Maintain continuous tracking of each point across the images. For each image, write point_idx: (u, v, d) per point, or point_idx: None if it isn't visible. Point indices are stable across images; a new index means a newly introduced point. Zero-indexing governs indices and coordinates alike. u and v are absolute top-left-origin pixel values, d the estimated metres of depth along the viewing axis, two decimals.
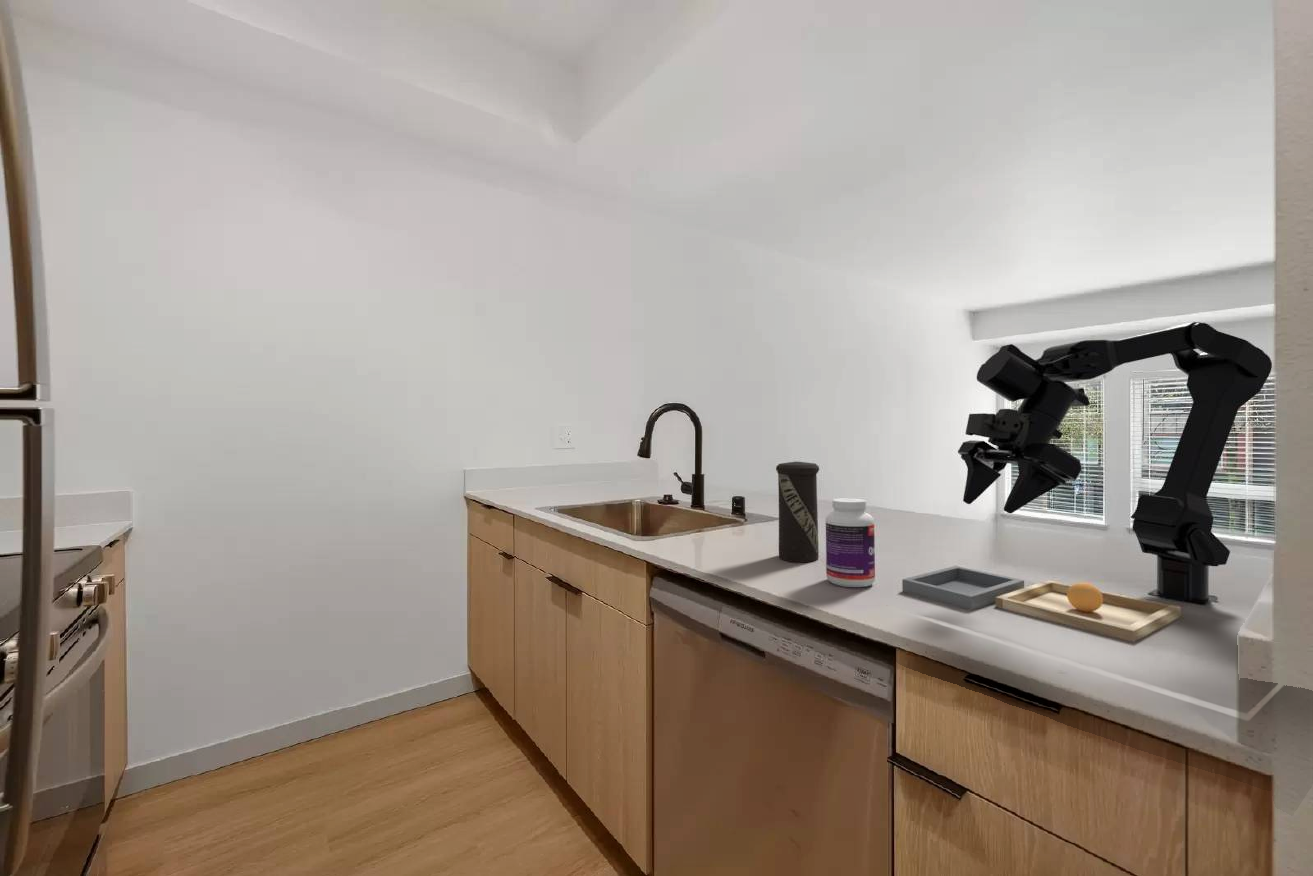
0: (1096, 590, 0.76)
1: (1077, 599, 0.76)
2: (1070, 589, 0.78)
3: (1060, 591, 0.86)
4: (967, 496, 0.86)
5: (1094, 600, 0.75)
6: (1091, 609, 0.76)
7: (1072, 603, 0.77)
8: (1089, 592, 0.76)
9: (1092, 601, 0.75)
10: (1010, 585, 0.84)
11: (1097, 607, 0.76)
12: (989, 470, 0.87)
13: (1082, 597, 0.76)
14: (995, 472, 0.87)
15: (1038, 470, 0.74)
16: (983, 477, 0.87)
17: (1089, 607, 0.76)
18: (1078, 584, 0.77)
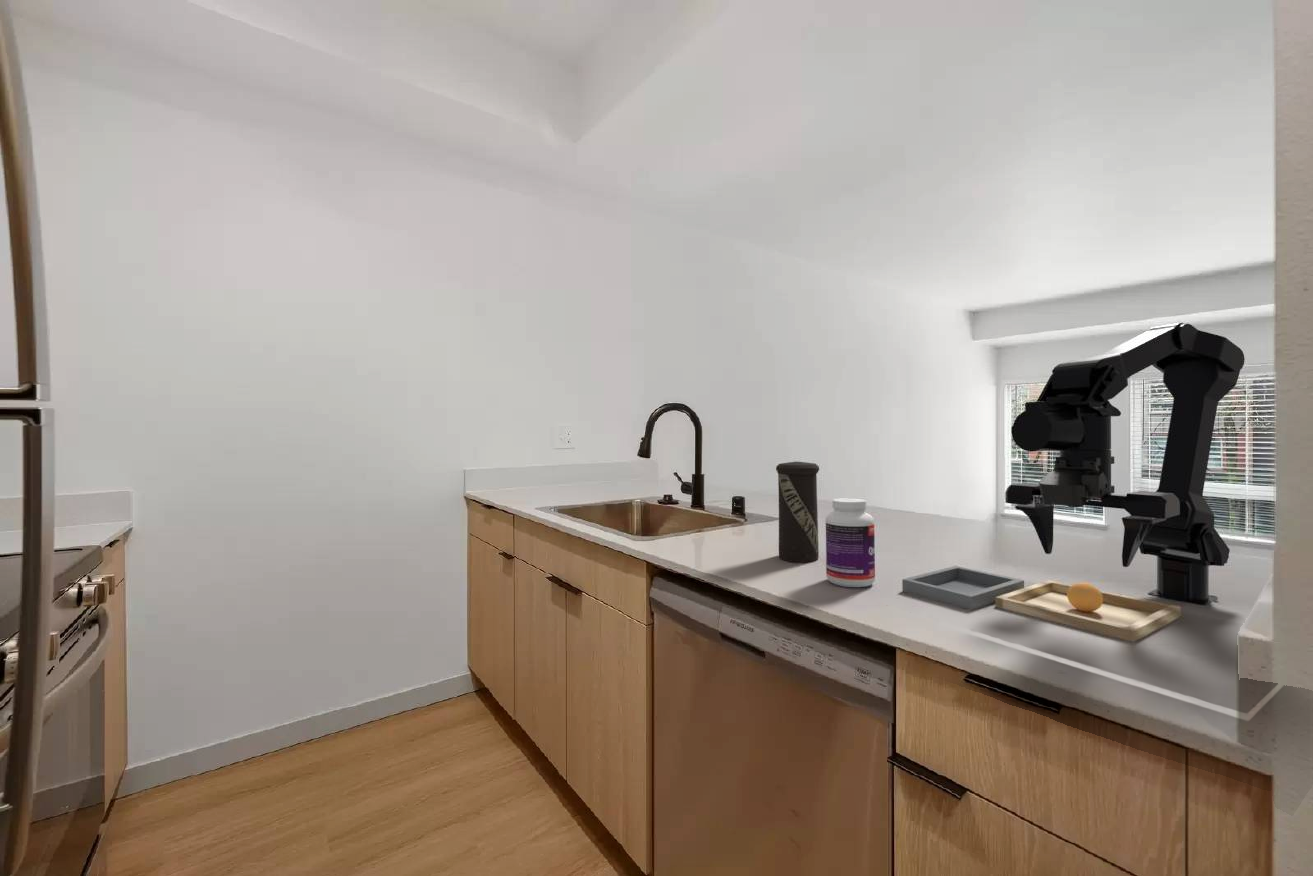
0: (1096, 590, 0.76)
1: (1077, 599, 0.76)
2: (1070, 589, 0.78)
3: (1060, 591, 0.86)
4: (1048, 548, 0.81)
5: (1094, 600, 0.75)
6: (1091, 609, 0.76)
7: (1072, 603, 0.77)
8: (1089, 592, 0.76)
9: (1092, 601, 0.75)
10: (1010, 585, 0.84)
11: (1097, 607, 0.76)
12: (1047, 509, 0.82)
13: (1082, 597, 0.76)
14: (1050, 507, 0.83)
15: None
16: (1047, 519, 0.82)
17: (1089, 607, 0.76)
18: (1078, 584, 0.77)
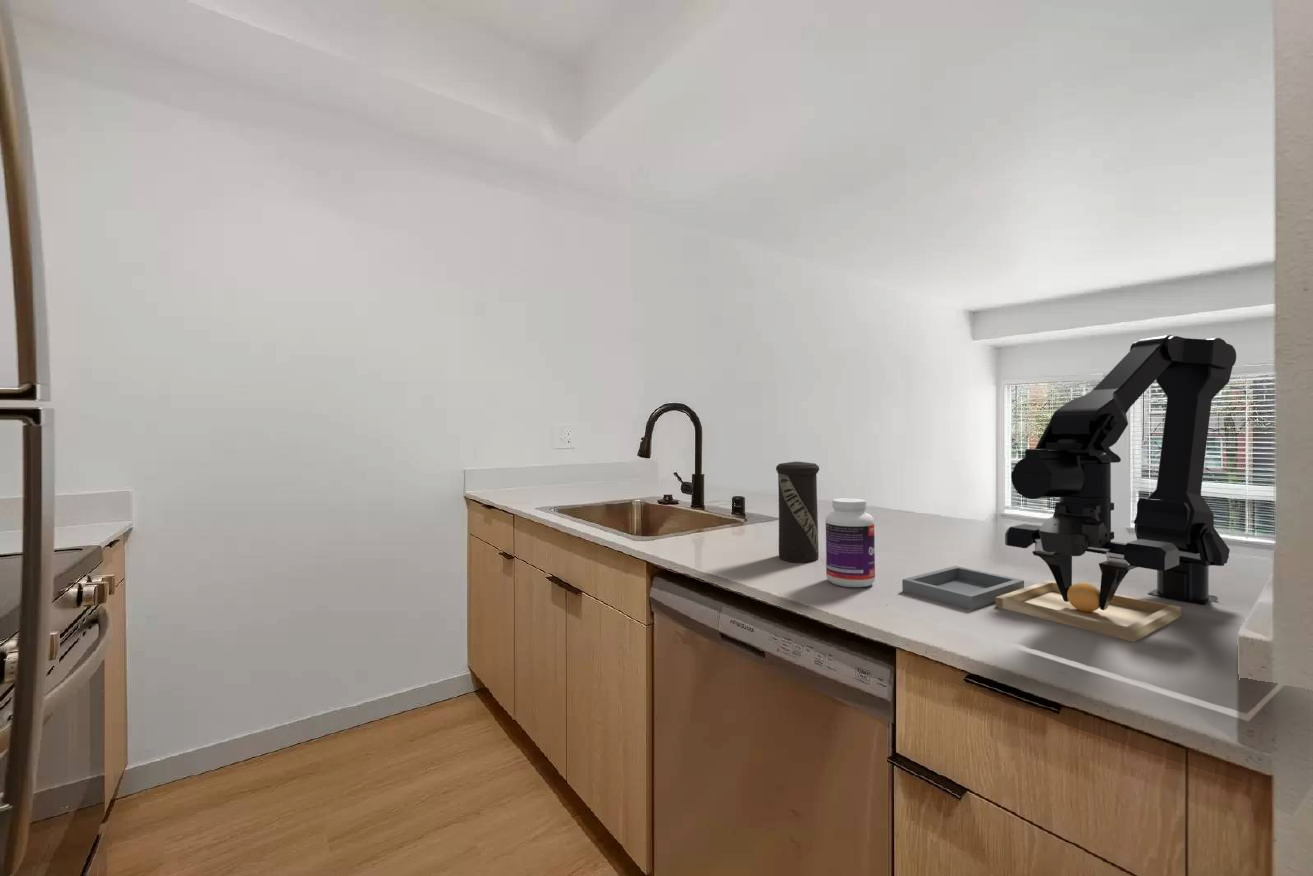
0: (1096, 590, 0.76)
1: (1077, 599, 0.76)
2: (1070, 589, 0.78)
3: None
4: None
5: (1094, 600, 0.75)
6: (1091, 609, 0.76)
7: (1072, 603, 0.77)
8: (1089, 592, 0.76)
9: (1092, 601, 0.75)
10: (1010, 585, 0.84)
11: (1097, 607, 0.76)
12: (1066, 555, 0.80)
13: (1082, 597, 0.76)
14: None
15: None
16: (1066, 566, 0.80)
17: (1089, 607, 0.76)
18: (1078, 584, 0.77)
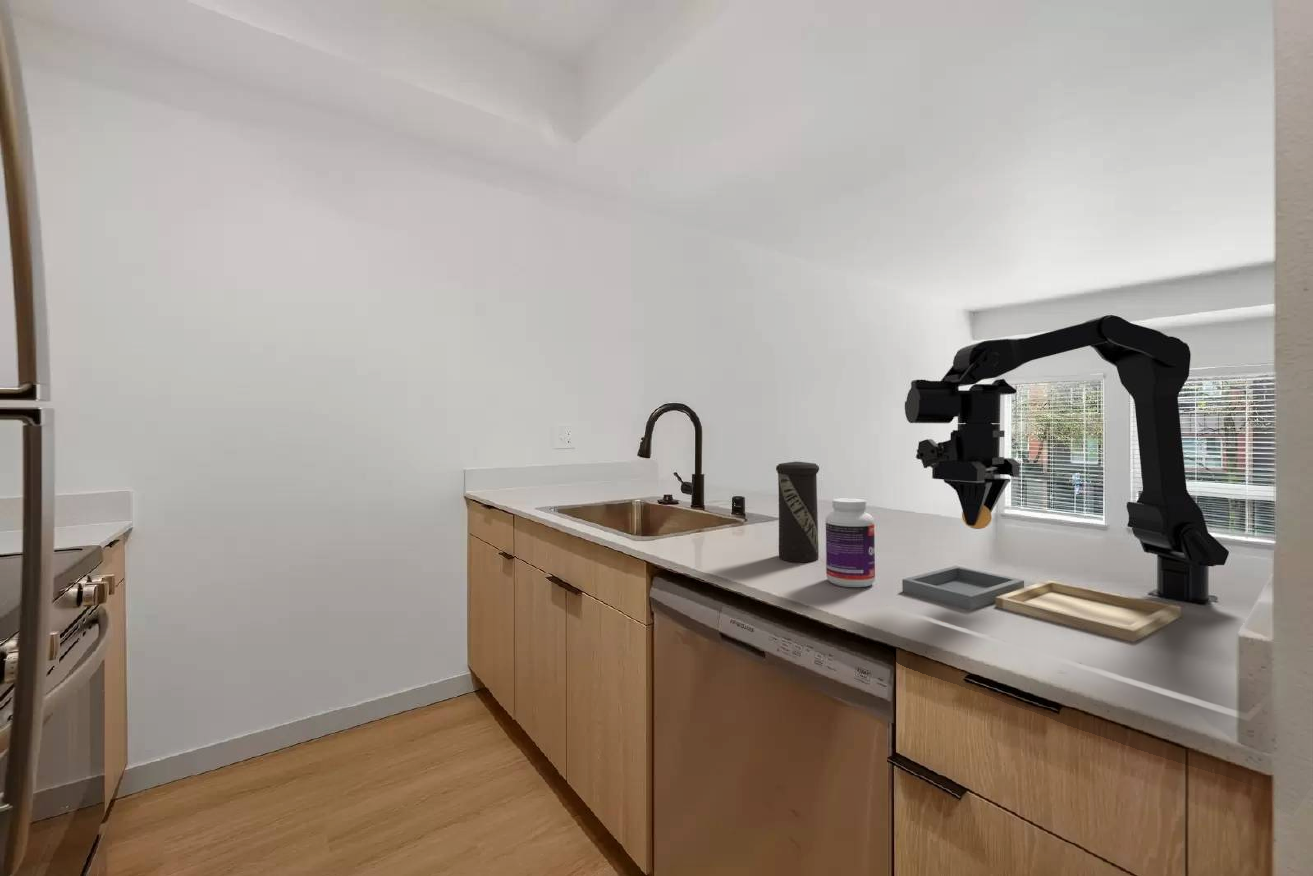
0: None
1: None
2: None
3: (1060, 591, 0.86)
4: None
5: None
6: (966, 524, 0.85)
7: None
8: None
9: (963, 515, 0.86)
10: (1010, 585, 0.84)
11: None
12: (990, 482, 0.86)
13: (962, 512, 0.86)
14: (997, 481, 0.85)
15: (957, 483, 0.83)
16: None
17: (964, 521, 0.86)
18: None
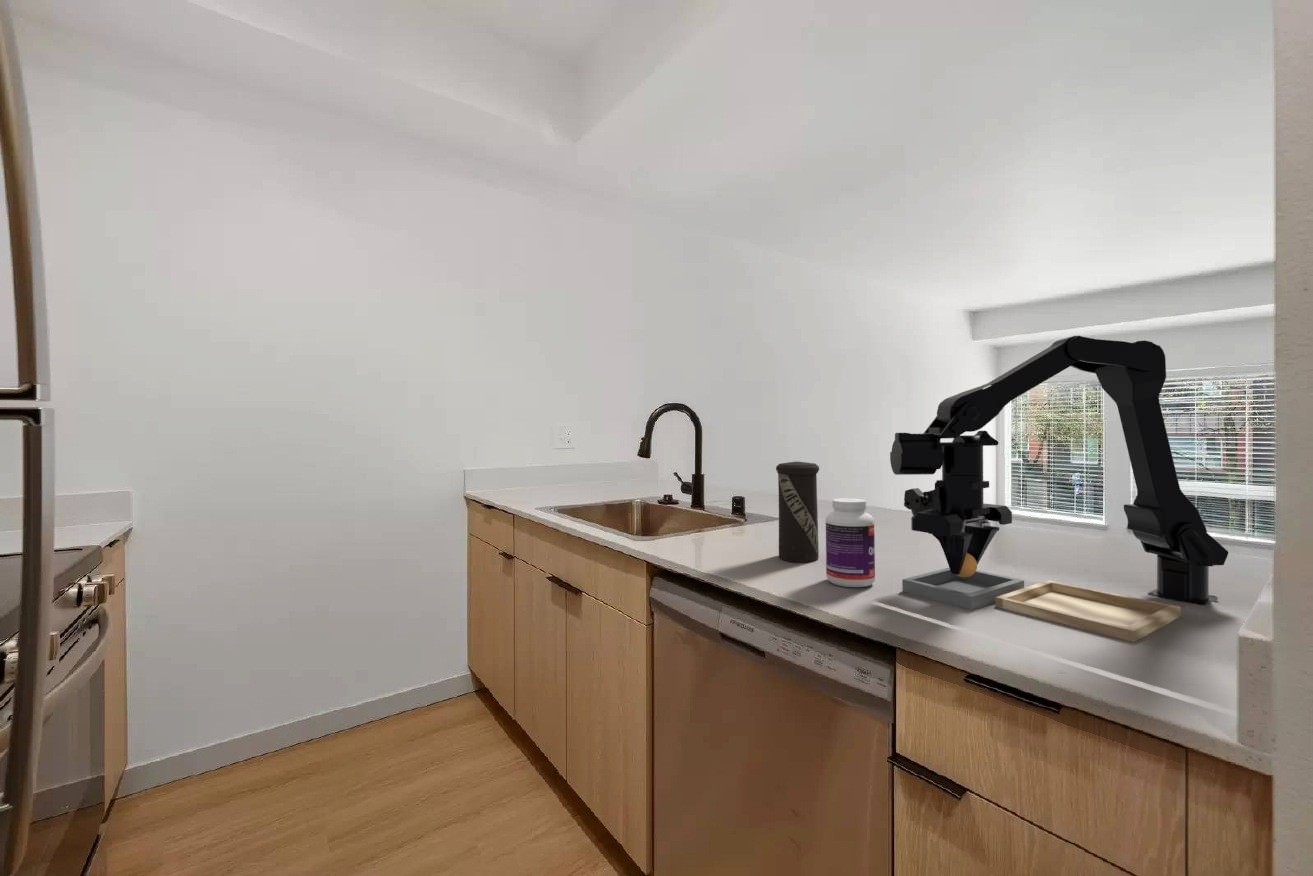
0: None
1: None
2: None
3: (1060, 591, 0.86)
4: None
5: None
6: None
7: None
8: None
9: None
10: (1010, 585, 0.84)
11: None
12: (977, 530, 0.88)
13: None
14: (984, 530, 0.87)
15: None
16: (974, 539, 0.88)
17: None
18: None
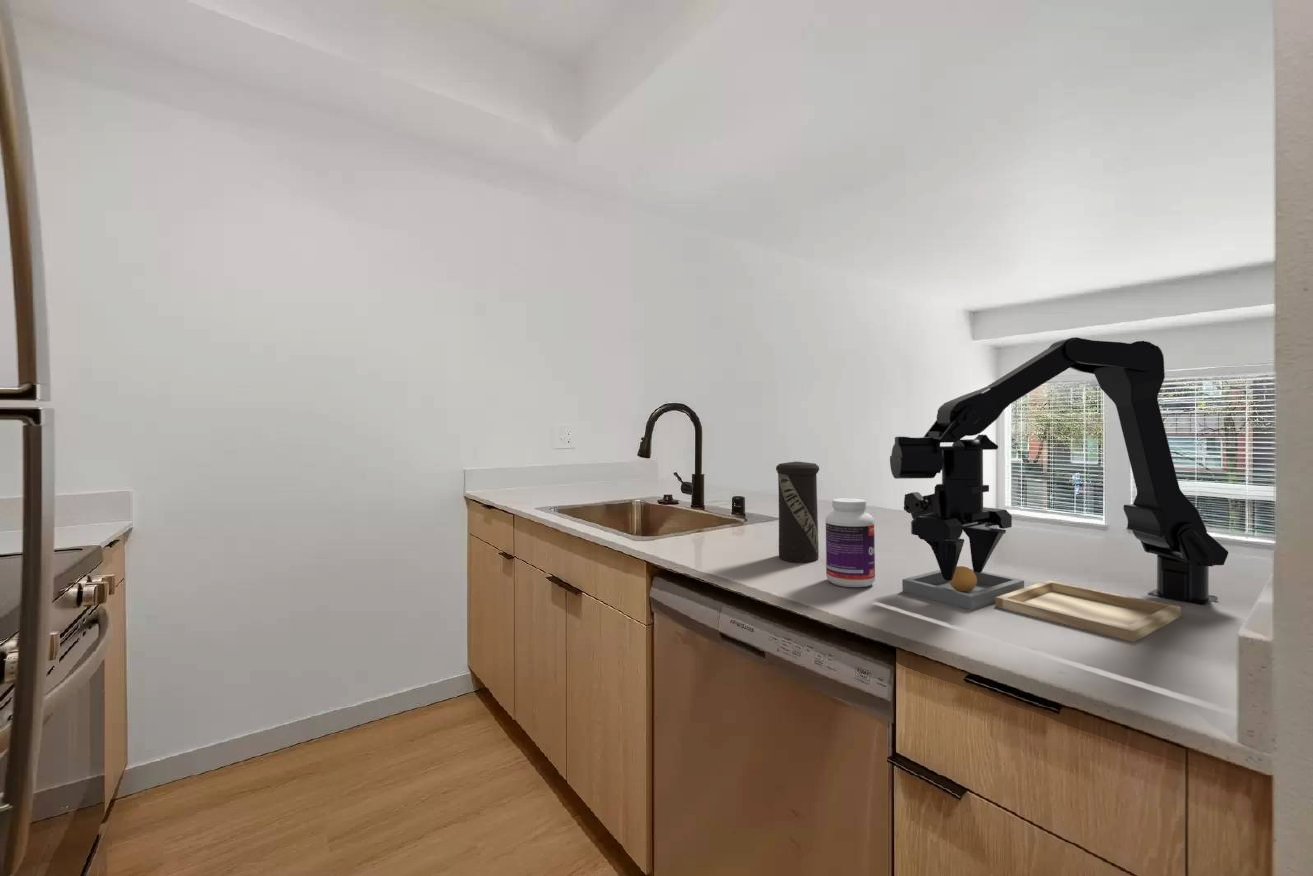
0: (955, 571, 0.87)
1: None
2: None
3: (1060, 591, 0.86)
4: (973, 566, 0.90)
5: None
6: (952, 586, 0.87)
7: None
8: None
9: None
10: (1010, 585, 0.84)
11: (953, 586, 0.87)
12: (984, 533, 0.89)
13: None
14: (991, 532, 0.88)
15: None
16: (981, 542, 0.89)
17: (950, 584, 0.88)
18: None
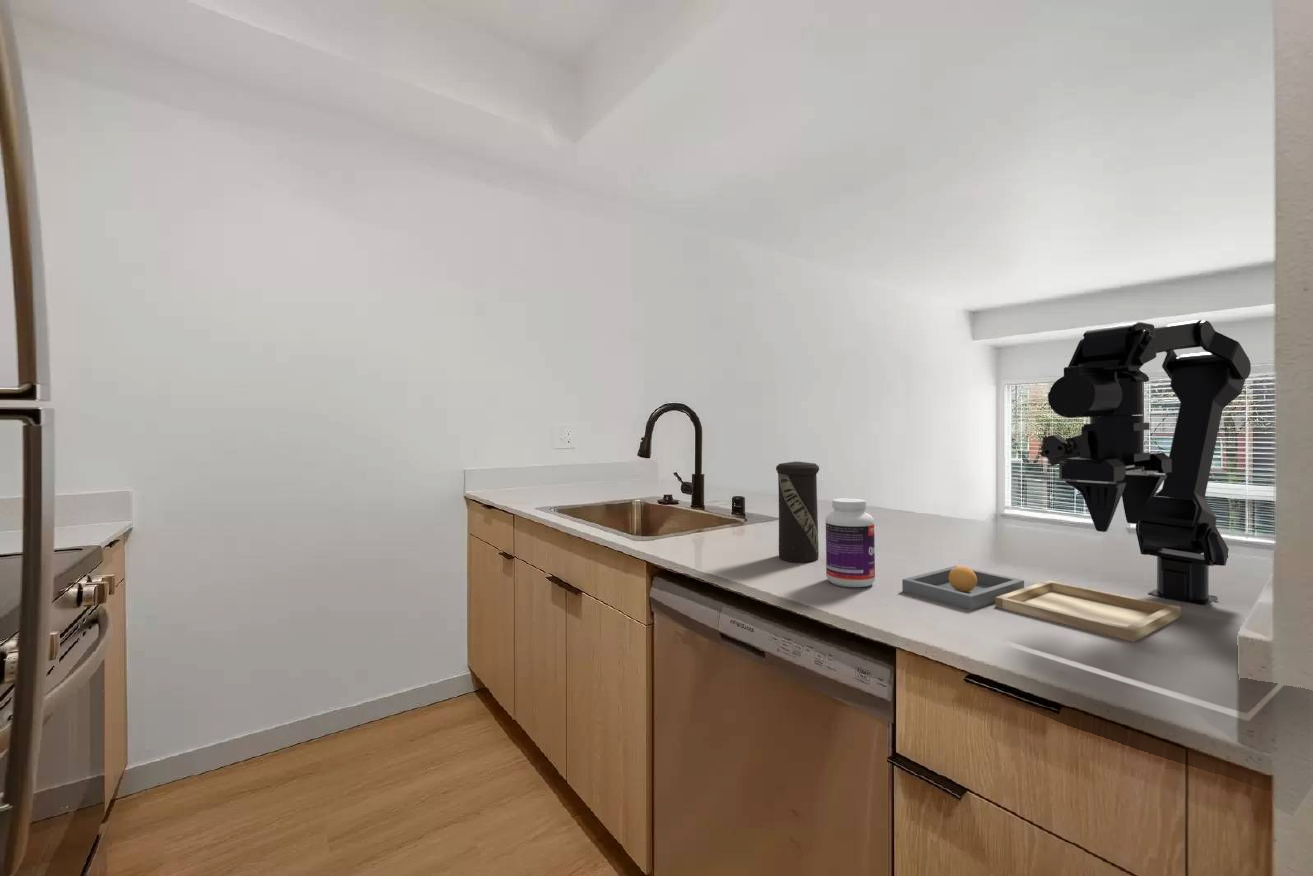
0: (956, 571, 0.87)
1: None
2: None
3: (1060, 591, 0.86)
4: (1127, 516, 0.79)
5: (949, 577, 0.87)
6: (952, 586, 0.87)
7: None
8: (950, 571, 0.88)
9: None
10: (1010, 585, 0.84)
11: (953, 585, 0.87)
12: (1141, 479, 0.78)
13: None
14: (1150, 477, 0.77)
15: None
16: (1137, 489, 0.78)
17: (950, 583, 0.88)
18: None
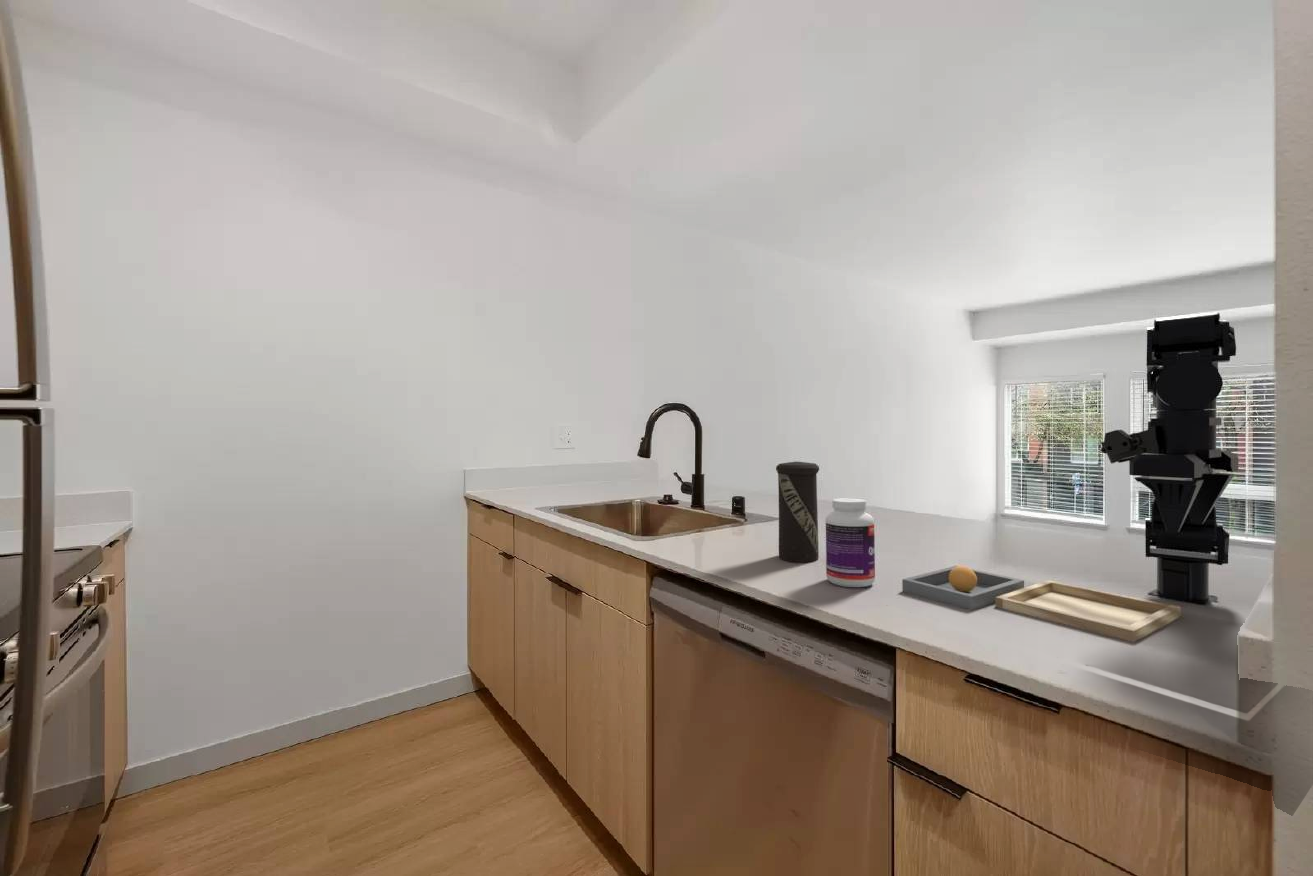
0: (956, 571, 0.87)
1: None
2: None
3: (1060, 591, 0.86)
4: (1191, 517, 0.75)
5: (949, 577, 0.87)
6: (952, 586, 0.87)
7: None
8: (951, 571, 0.88)
9: (949, 577, 0.88)
10: (1010, 585, 0.84)
11: (953, 585, 0.87)
12: (1207, 477, 0.74)
13: None
14: (1218, 476, 0.73)
15: None
16: (1202, 488, 0.75)
17: (950, 583, 0.88)
18: None
